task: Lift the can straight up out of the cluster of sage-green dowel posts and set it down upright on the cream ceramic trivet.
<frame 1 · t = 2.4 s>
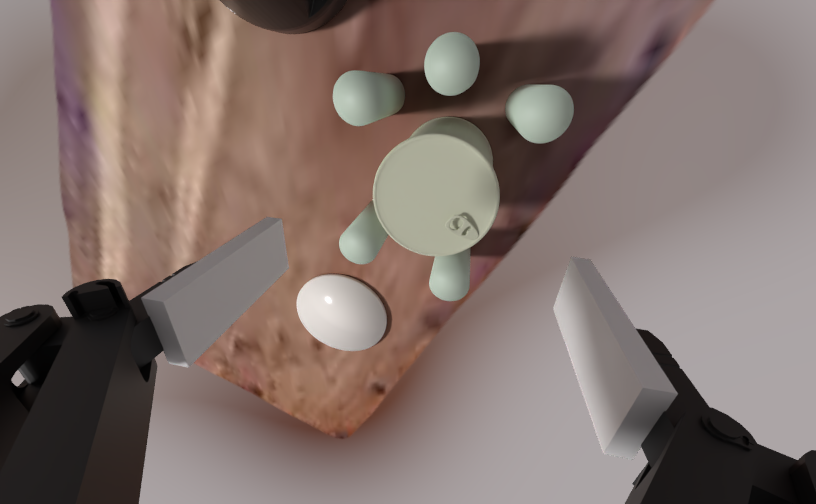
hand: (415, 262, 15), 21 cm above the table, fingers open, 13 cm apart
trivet: (342, 313, 45), on the table
can: (446, 164, 33), on the table
posts: (446, 165, 33), on the table
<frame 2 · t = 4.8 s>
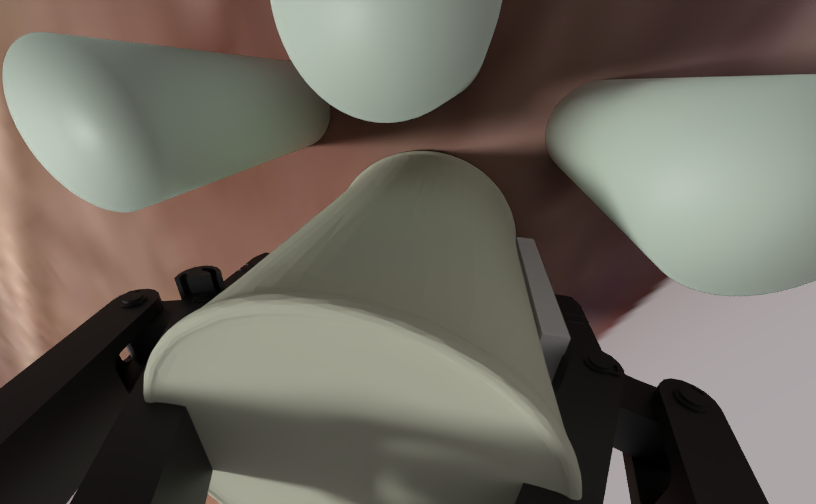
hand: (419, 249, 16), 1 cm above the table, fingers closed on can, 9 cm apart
can: (423, 239, 17), on the table, touching gripper
posts: (422, 241, 17), on the table
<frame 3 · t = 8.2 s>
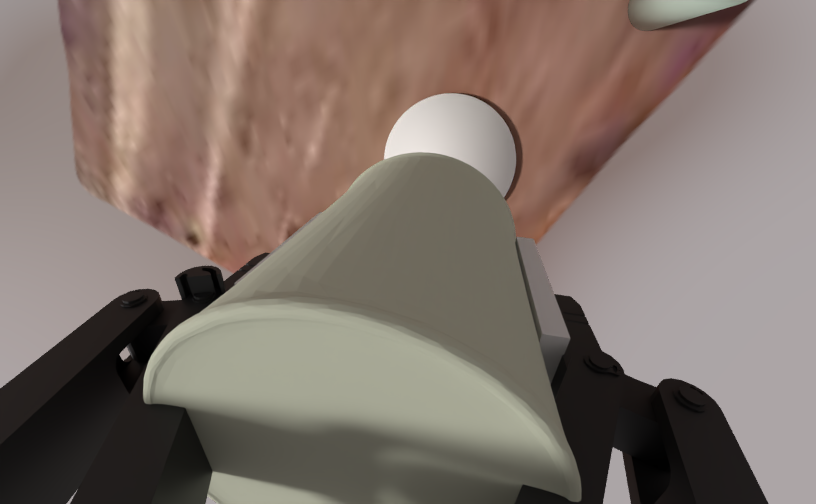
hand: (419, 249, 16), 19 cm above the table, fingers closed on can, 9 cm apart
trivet: (448, 164, 32), on the table
can: (423, 240, 17), point 18 cm above the table, touching gripper
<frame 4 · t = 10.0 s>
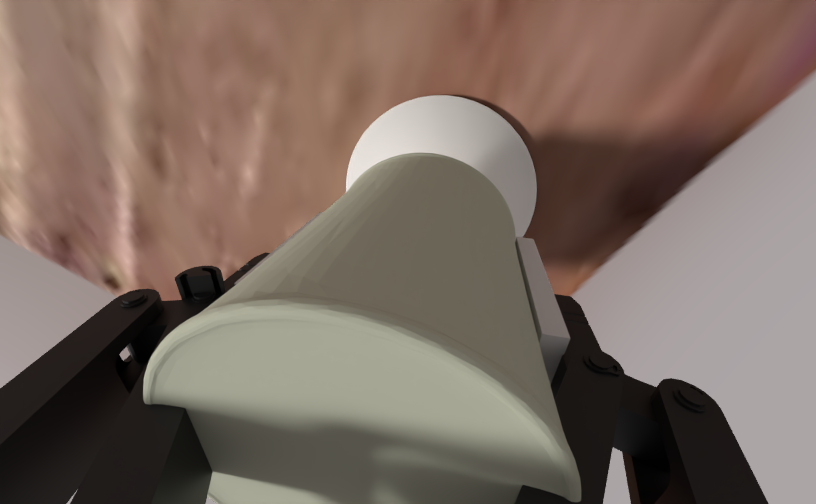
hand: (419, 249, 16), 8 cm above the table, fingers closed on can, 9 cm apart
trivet: (437, 197, 22), on the table
can: (423, 241, 17), point 7 cm above the table, touching gripper
when the fingers open (3 cm above the table, at t = 11.5 s): can drops 1 cm, resting on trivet.
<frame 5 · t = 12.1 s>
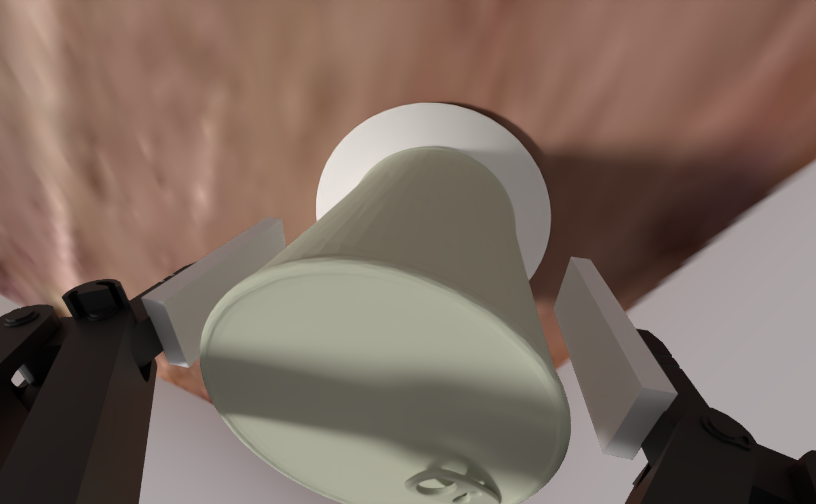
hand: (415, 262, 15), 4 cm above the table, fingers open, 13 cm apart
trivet: (427, 226, 18), on the table
can: (429, 230, 18), resting on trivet
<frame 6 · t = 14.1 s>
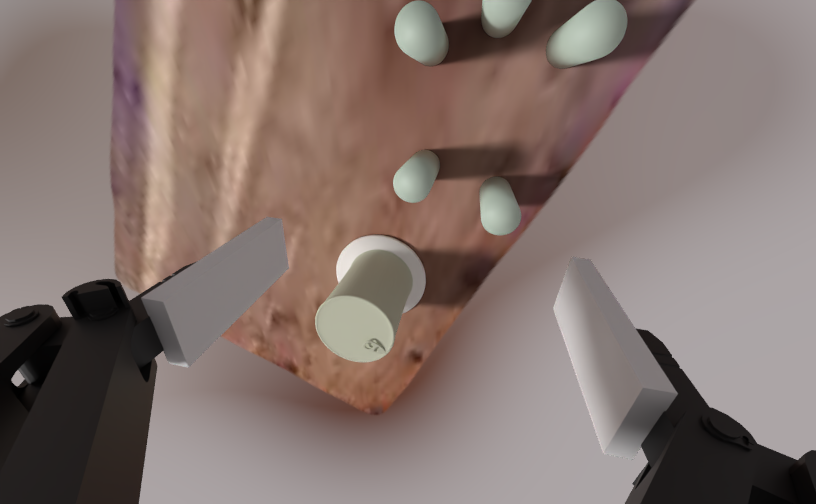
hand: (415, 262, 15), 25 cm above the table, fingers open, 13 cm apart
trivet: (381, 276, 46), on the table
can: (381, 278, 45), resting on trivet
posts: (487, 112, 34), on the table
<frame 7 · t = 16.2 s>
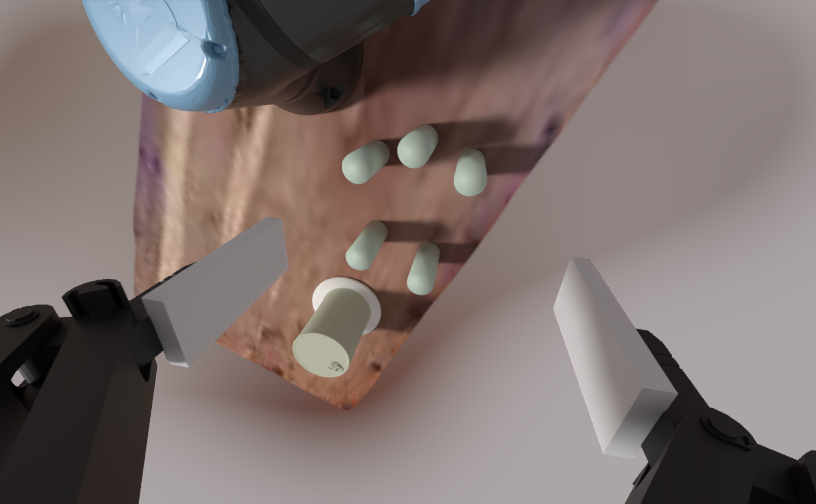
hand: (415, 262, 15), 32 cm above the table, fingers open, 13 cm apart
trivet: (347, 306, 59), on the table
can: (347, 308, 58), resting on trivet
posts: (420, 199, 47), on the table
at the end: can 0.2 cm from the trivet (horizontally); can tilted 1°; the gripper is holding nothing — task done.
